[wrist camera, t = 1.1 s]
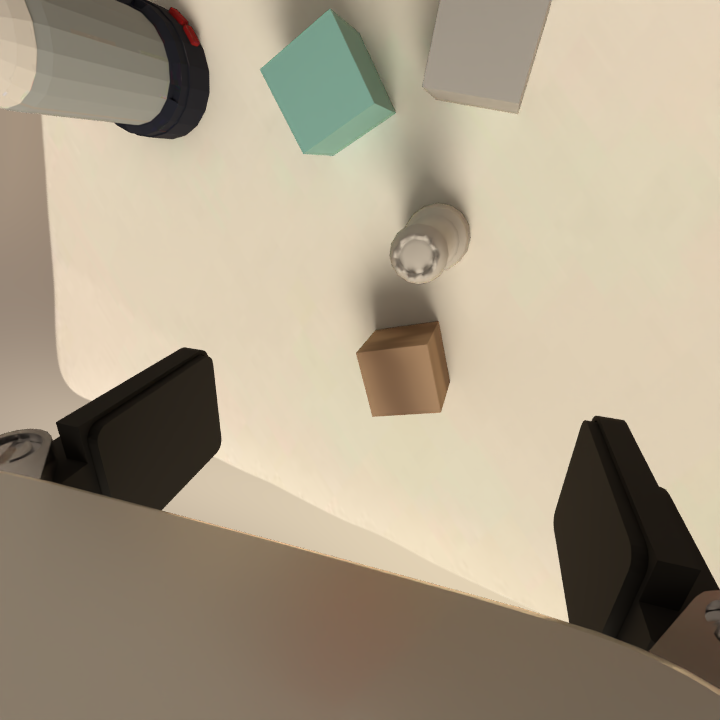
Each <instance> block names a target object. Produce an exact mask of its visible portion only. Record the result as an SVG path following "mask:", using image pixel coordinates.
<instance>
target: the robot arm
mask: <svg viewBox="0 0 720 720" xmlns="http://www.w3.org/2000/svg"><path fill="white" fill-rule="evenodd" d="M56 425H57V428H58V431H59V434H60V437H58V438H57V439H55V440H52V437H51V435H50V434H49V433H48V432H46V431H43V430H40V429H24V430H16V431H12V432H8V433H4V434H1V435H0V720H720V589H719V587H718V585H717V584H716V582H715V580H714V578H713V576H712V574H711V572H710V570H709V568H708V567H707V565H706V563H705V561H704V559H703V557H702V555H701V553H700V551H699V550H698V548H697V546H696V544H695V542H694V540H693V538H692V536H691V534H690V533H689V531H688V529H687V527H686V525H685V523H684V521H683V519H682V517H681V516H680V514H679V512H678V510H677V508H676V506H675V504H674V502H673V500H672V499H671V497H670V495H669V493H668V492H667V491H666V489H664V488H662V487H659V486H658V484H657V482H656V480H655V478H654V476H653V474H652V472H651V470H650V468H649V466H648V464H647V462H646V461H645V459H644V457H643V455H642V453H641V451H640V449H639V447H638V445H637V443H636V441H635V439H634V437H633V435H632V433H631V431H630V429H629V427H628V425H627V423H626V422H625V421H624V420H619V419H613V418H607V417H601V416H595V417H594V418H593V419H592V421H586V420H585V421H583V423H582V425H581V428H580V431H579V435H578V438H577V441H576V444H575V448H574V451H573V454H572V457H571V461H570V464H569V467H568V471H567V474H566V477H565V480H564V484H563V487H562V490H561V494H560V497H559V500H558V503H557V507H556V510H555V514H554V532H555V538H556V544H557V550H558V557H559V563H560V569H561V575H562V581H563V587H564V593H565V599H566V605H567V611H568V618H569V623H568V622H565V621H561V620H558V619H555V618H552V617H549V616H545V615H542V614H539V613H536V612H532V611H529V610H526V609H523V608H520V607H516V606H512V605H508V604H504V603H501V602H497V601H494V600H490V599H487V598H483V597H479V596H476V595H472V594H469V593H465V592H461V591H458V590H454V589H450V588H447V587H443V586H440V585H436V584H432V583H429V582H425V581H421V580H417V579H414V578H410V577H406V576H403V575H399V574H396V573H392V572H388V571H385V570H381V569H377V568H374V567H370V566H366V565H363V564H359V563H355V562H352V561H348V560H345V559H341V558H337V557H334V556H330V555H326V554H322V553H319V552H315V551H312V550H307V549H304V548H300V547H297V546H293V545H289V544H286V543H282V542H278V541H274V540H271V539H267V538H263V537H259V536H256V535H252V534H248V533H244V532H240V531H237V530H233V529H229V528H226V527H221V526H218V525H214V524H211V523H207V522H203V521H199V520H196V519H192V518H188V517H184V516H180V515H176V514H173V513H169V512H165V511H161V510H162V509H163V508H164V507H165V506H166V505H167V504H168V503H169V502H170V501H171V500H172V499H173V498H174V497H175V496H176V495H177V493H179V491H180V490H181V489H182V488H183V487H184V486H185V485H186V484H187V483H188V482H189V481H190V480H191V479H192V478H193V477H194V476H195V475H196V474H197V473H198V472H199V471H200V470H201V469H202V468H203V467H204V465H205V464H206V463H207V462H208V461H209V460H210V459H211V458H212V457H213V456H214V455H215V454H216V453H217V452H218V450H219V448H220V445H221V431H220V422H219V413H218V404H217V395H216V386H215V377H214V368H213V361H212V359H211V358H210V357H208V355H207V353H206V352H205V351H203V350H197V349H191V348H185V347H184V348H181V349H179V350H177V351H176V352H174V353H172V354H171V355H169V356H167V357H166V358H164V359H162V360H160V361H159V362H157V363H155V364H154V365H152V366H150V367H149V368H147V369H145V370H144V371H142V372H140V373H138V374H137V375H135V376H133V377H132V378H130V379H128V380H127V381H125V382H123V383H122V384H120V385H118V386H116V387H115V388H113V389H111V390H110V391H108V392H106V393H105V394H103V395H101V396H100V397H98V398H96V399H94V400H93V401H91V402H90V403H88V404H86V405H84V406H83V407H81V408H79V409H78V410H76V411H74V412H73V413H71V414H69V415H67V416H66V417H64V418H62V419H61V420H59V421H58V422H56Z"/></svg>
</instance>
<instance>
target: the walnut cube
mask: <svg viewBox="0 0 720 720" xmlns="http://www.w3.org/2000/svg"><path fill="white" fill-rule="evenodd" d="M356 355H357V358H358V362H359V366H360V370H361V374H362V378H363V382H364V386H365V389H366V393H367V397H368V401H369V405H370V409H371V413H372V417H375V416H391V415H407V414H423V413H440V412H441V410H442V407H443V403H444V400H445V397H446V393H447V390H448V386H449V383H450V379H449V374H448V369H447V363H446V358H445V353H444V347H443V342H442V337H441V331H440V326H439V321H436V322H429V323H422V324H415V325H407V326H400V327H393V328H386V329H379V330H375V331H374V333H373V334H372V335H371V336H370V337H369V339H368V340H367V341H366V342H365V343H364V344H363V346H362V347H361V348H360V349H359V350H358V352H357V353H356Z"/></svg>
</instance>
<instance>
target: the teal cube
mask: <svg viewBox="0 0 720 720" xmlns="http://www.w3.org/2000/svg"><path fill="white" fill-rule="evenodd" d="M260 71H261V73H262V75H263V76H264V78H265V80H266V82H267V84H268V86H269V88H270V90H271V92H272V94H273V96H274V98H275V100H276V102H277V104H278V106H279V108H280V110H281V111H282V113H283V115H284V117H285V119H286V121H287V123H288V125H289V127H290V129H291V131H292V133H293V135H294V137H295V139H296V141H297V143H298V145H299V146H300V148H301V150H302V152H303V154H314V155H330V156H334V155H335V154H336V153H338V152H339V151H341V150H342V149H344V148H345V147H347V146H348V145H350V144H351V143H353V142H354V141H356V140H357V139H358V138H360V137H361V136H363V135H364V134H366V133H367V132H369V131H370V130H372V129H373V128H375V127H376V126H378V125H379V124H380V123H382V122H383V121H385V120H386V119H388V118H389V117H391V116H392V115H394V114H395V110H394V108H393V106H392V104H391V102H390V99H389V97H388V95H387V93H386V91H385V88H384V86H383V84H382V82H381V80H380V78H379V75H378V73H377V71H376V69H375V67H374V64H373V62H372V60H371V58H370V56H369V53H368V51H367V49H366V47H365V45H364V43H363V40H362V38H361V36H360V34H359V33H358V32H357V31H356V30H355V29H354V28H352V27H351V26H350V25H349V24H348V23H347V22H345V21H344V20H343V19H342V18H341V17H340V16H338V15H337V14H336V13H335V12H334V11H333V10H332V9H329V10H328V11H326V12H325V13H324V14H323V15H322V16H321V17H320V18H318V19H317V20H316V21H315V22H314V23H313V24H311V25H310V26H309V27H308V28H307V29H306V30H305V31H303V32H302V33H301V34H300V35H299V36H298V37H297V38H295V39H294V40H293V41H292V42H291V43H290V44H289V45H287V46H286V47H285V48H284V49H283V50H282V51H281V52H279V53H278V54H277V55H276V56H275V57H274V58H273V59H271V60H270V61H269V62H268V63H267V64H266V65H265V66H263V67H262V68H261V69H260Z"/></svg>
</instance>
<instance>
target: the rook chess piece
mask: <svg viewBox="0 0 720 720" xmlns="http://www.w3.org/2000/svg"><path fill="white" fill-rule="evenodd" d="M470 238H471V237H470V230H469V224H468V222H467V221H466V219H465V218H464V216H463V214H462V213H461V212H460V211H458V210H457V209H455V208H454V207H452V206H451V205H446V204H440V203H435V204H431V205H427V206H424V207H423V208H421V209H420V210H419V211H417V212H416V213H415V214H414V215H413V216H412V217H411V218H410V220H409V222H408V223H407V225H406V227H405V228H404V229H402V230H401V231H400V232H398V233H397V235H396V237H395V238H394V240H393V242H392V243H391V249H390V258H391V263H392V266H393V268H394V269H395V271H396V272H397V274H398V275H399V276H400V277H402V278H403V279H405V280H406V281H407V282H412V283H416V284H422V283H427V282H431V281H432V280H434V279H435V278H437V277H439V276H440V274H441V273H442V272H443V271H444V270H447V269H449V268H451V267H452V266H454V265H455V264H457V263H458V262H459V261H460V260H461V259H462V257H463V256H464V255H465V253H466V252H467V250H468V246H469V242H470Z"/></svg>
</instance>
